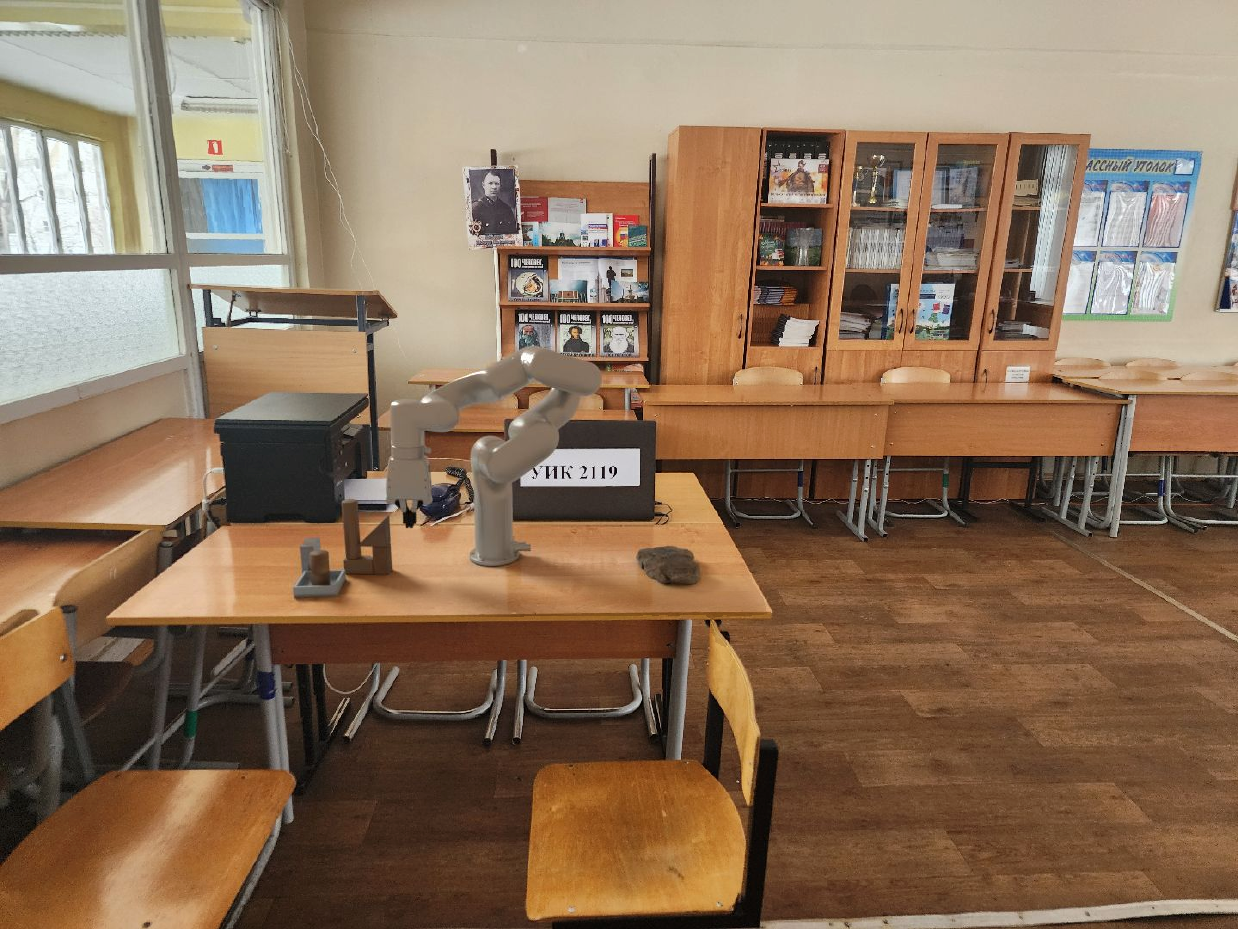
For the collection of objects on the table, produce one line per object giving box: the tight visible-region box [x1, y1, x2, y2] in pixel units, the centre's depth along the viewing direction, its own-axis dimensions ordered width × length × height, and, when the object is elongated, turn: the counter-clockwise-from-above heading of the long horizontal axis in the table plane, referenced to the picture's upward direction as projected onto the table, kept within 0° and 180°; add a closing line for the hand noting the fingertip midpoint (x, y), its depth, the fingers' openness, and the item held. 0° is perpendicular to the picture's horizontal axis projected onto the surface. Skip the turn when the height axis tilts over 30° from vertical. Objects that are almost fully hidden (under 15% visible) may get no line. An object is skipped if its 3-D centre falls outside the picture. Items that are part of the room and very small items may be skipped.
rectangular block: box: [299, 537, 322, 575], centre depth 179 cm, size 3×6×8 cm, turn 8°
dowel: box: [310, 549, 330, 586], centre depth 170 cm, size 4×4×8 cm
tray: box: [292, 569, 347, 599], centre depth 171 cm, size 9×9×2 cm
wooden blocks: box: [341, 498, 393, 576], centre depth 179 cm, size 4×11×18 cm, turn 89°
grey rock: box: [635, 545, 702, 585], centre depth 185 cm, size 14×5×20 cm
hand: (409, 526), depth 180 cm, fingers closed
